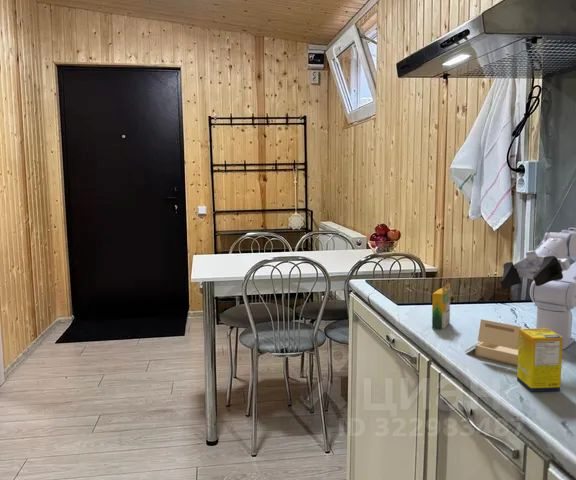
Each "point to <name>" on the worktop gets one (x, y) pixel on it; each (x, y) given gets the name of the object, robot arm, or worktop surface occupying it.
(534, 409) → the worktop surface
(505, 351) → the carton
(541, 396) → the worktop surface
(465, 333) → the worktop surface
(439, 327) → the crayon box
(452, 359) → the worktop surface
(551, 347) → the supplement box
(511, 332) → the flap
